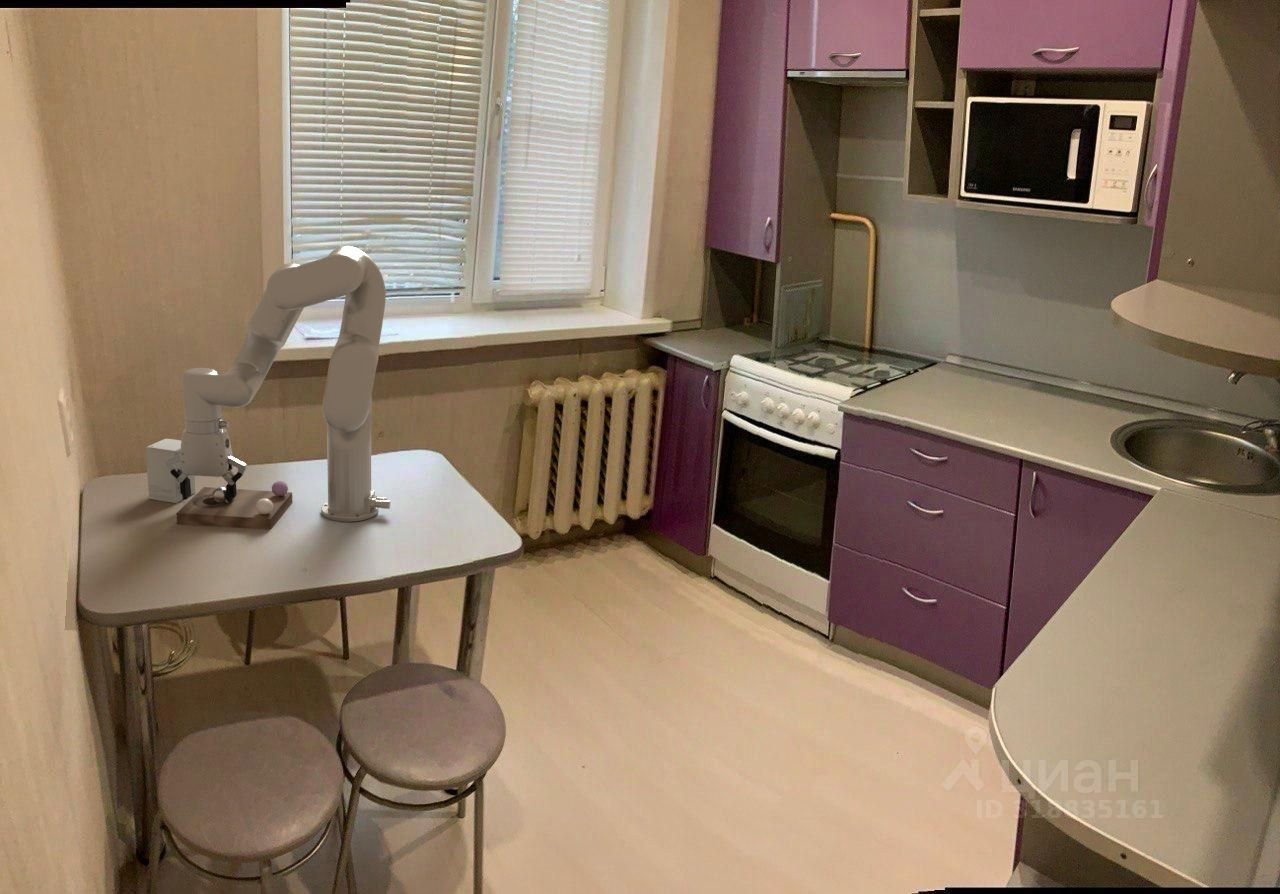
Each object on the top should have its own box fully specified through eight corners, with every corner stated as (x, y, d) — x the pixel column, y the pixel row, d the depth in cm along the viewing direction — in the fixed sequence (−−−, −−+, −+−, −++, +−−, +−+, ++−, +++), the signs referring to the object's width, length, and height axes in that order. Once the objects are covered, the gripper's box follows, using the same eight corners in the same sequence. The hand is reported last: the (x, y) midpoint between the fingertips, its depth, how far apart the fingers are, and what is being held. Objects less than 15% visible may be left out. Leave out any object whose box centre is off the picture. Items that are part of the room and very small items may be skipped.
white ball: (275, 511, 228) (274, 496, 227) (270, 517, 225) (269, 502, 224) (259, 510, 228) (258, 495, 227) (254, 516, 225) (253, 501, 224)
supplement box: (177, 504, 234) (173, 451, 230) (147, 499, 236) (143, 446, 232) (197, 493, 241) (194, 441, 237) (168, 488, 242) (164, 437, 239)
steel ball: (231, 485, 232) (215, 483, 232) (225, 490, 229) (209, 489, 228) (231, 499, 233) (215, 498, 233) (225, 505, 230) (209, 503, 229)
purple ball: (290, 493, 239) (289, 479, 238) (285, 499, 235) (285, 484, 234) (274, 492, 238) (274, 478, 237) (269, 498, 235) (269, 483, 234)
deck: (292, 502, 240) (292, 492, 239) (270, 529, 225) (270, 518, 224) (204, 497, 239) (203, 486, 238) (177, 523, 224) (176, 513, 223)
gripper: (250, 422, 230) (253, 494, 235) (170, 418, 229) (176, 490, 234) (238, 432, 222) (242, 506, 228) (156, 428, 222) (162, 502, 227)
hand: (209, 498), depth 231 cm, fingers open, 9 cm apart
